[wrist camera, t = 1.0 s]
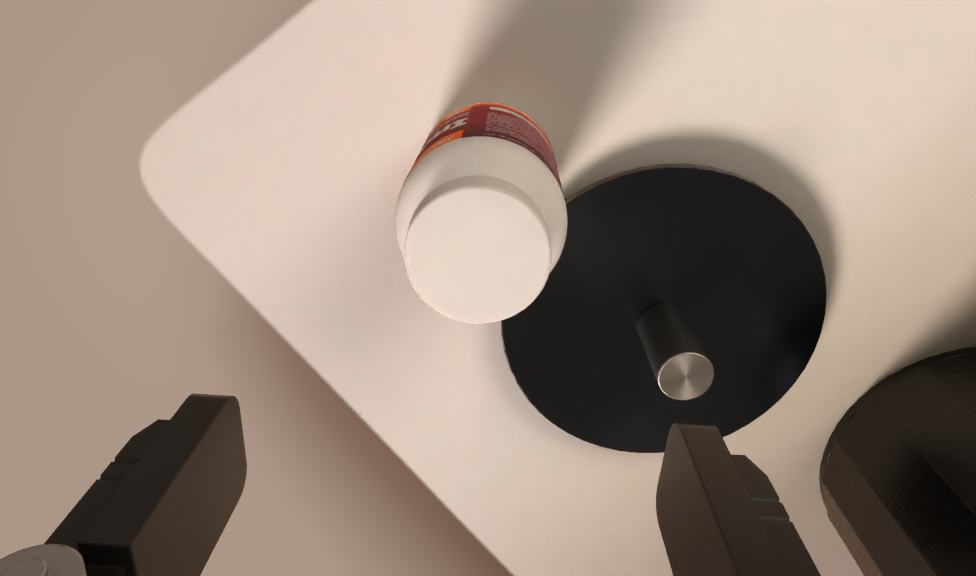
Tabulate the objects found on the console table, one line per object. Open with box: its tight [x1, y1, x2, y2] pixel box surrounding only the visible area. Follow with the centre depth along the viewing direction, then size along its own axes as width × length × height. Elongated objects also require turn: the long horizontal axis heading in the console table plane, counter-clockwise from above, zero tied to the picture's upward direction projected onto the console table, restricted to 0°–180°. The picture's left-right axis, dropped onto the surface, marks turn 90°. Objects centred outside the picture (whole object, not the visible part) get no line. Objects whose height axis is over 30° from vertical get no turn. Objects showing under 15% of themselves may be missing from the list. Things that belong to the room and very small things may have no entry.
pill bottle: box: [395, 102, 567, 324], centre depth 25 cm, size 6×6×11 cm
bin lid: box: [501, 164, 826, 453], centre depth 31 cm, size 16×16×6 cm
